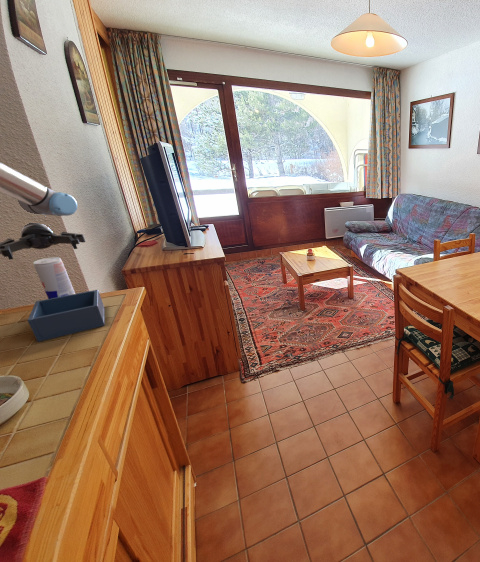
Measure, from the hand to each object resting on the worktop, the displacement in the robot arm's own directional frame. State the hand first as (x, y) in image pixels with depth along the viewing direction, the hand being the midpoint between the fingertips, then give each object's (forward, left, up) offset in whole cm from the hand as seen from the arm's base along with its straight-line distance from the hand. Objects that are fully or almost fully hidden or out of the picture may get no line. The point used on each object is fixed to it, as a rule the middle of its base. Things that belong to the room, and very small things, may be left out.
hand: (43, 249), depth 90 cm
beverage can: (+7, -7, -16) cm, 19 cm away
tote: (+16, -16, -16) cm, 27 cm away
